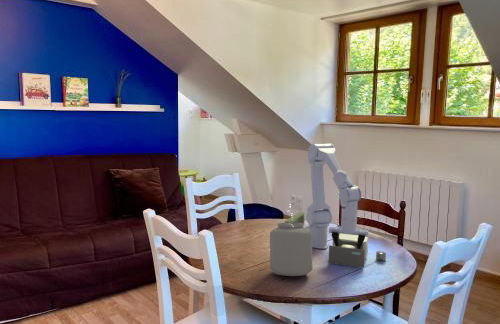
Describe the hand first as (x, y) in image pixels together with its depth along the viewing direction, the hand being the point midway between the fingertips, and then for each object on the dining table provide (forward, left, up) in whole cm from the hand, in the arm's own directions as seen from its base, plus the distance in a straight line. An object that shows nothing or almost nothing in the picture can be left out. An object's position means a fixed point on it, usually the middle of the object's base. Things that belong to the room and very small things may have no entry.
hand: (347, 252), depth 158 cm
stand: (+12, +7, -4) cm, 14 cm away
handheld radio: (-30, +34, -4) cm, 45 cm away
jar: (-18, -18, -4) cm, 26 cm away
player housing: (0, +10, -4) cm, 10 cm away
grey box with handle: (0, 0, -3) cm, 3 cm away
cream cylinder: (0, 0, -2) cm, 2 cm away
